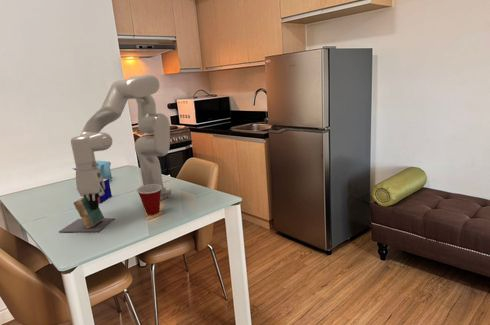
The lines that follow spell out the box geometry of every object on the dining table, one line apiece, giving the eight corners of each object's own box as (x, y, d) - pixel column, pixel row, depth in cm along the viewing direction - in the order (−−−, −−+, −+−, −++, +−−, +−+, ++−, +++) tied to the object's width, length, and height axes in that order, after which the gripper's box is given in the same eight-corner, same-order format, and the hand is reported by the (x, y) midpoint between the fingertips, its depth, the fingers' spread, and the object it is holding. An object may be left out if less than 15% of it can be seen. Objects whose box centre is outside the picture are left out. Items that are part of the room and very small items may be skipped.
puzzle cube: (101, 203, 176) (97, 184, 174) (84, 203, 178) (80, 185, 176) (112, 196, 186) (108, 178, 183) (95, 196, 188) (92, 179, 185)
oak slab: (104, 218, 150) (91, 193, 148) (93, 225, 142) (80, 199, 140) (98, 220, 151) (85, 196, 149) (86, 228, 143) (73, 202, 141)
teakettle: (115, 177, 225) (111, 155, 222) (109, 185, 207) (104, 161, 204) (84, 181, 223) (80, 159, 219) (75, 190, 205) (70, 165, 201)
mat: (115, 219, 152) (115, 218, 152) (98, 232, 140) (98, 231, 139) (78, 220, 155) (78, 218, 155) (58, 232, 143) (58, 231, 143)
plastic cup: (148, 219, 148) (144, 193, 145) (136, 214, 156) (132, 189, 153) (170, 211, 155) (166, 185, 152) (157, 206, 163) (153, 182, 160)
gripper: (108, 163, 143) (116, 205, 147) (75, 165, 145) (84, 206, 150) (97, 168, 135) (106, 211, 140) (63, 169, 138) (73, 212, 142)
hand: (95, 208), depth 145 cm, fingers closed
